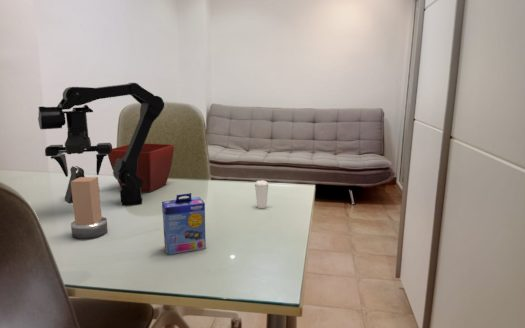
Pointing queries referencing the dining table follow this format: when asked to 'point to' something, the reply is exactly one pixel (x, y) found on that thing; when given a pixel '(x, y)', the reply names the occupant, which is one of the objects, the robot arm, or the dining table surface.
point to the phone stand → (73, 176)
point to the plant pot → (149, 164)
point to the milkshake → (261, 193)
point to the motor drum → (89, 230)
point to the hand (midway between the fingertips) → (82, 175)
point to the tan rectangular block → (86, 200)
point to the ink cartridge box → (184, 224)
